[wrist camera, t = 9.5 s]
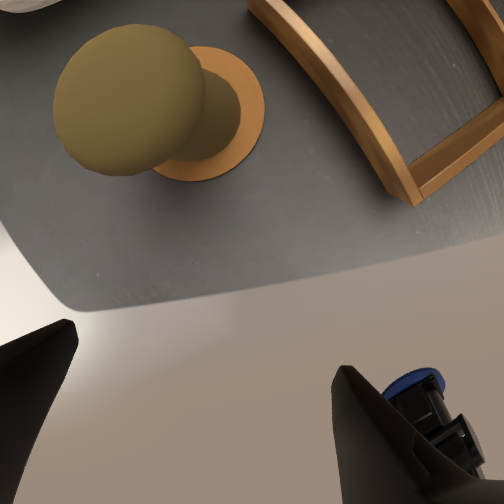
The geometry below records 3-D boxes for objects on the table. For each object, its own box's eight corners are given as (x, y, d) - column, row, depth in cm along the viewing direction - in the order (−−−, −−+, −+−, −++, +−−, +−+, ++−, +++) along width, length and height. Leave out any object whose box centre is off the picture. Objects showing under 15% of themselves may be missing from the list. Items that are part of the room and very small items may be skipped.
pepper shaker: (250, 77, 15) (232, -2, 5) (230, 169, 18) (183, 217, 7) (157, 66, 15) (50, 13, 5) (140, 154, 17) (20, 187, 7)
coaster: (294, 123, 17) (294, 123, 16) (183, 207, 19) (181, 209, 19) (207, 23, 14) (205, 21, 14) (106, 111, 17) (103, 111, 16)
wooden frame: (509, 101, 14) (541, 102, 10) (387, 193, 18) (414, 207, 14) (404, -53, 10) (423, -74, 6) (247, 8, 14) (243, -19, 10)
